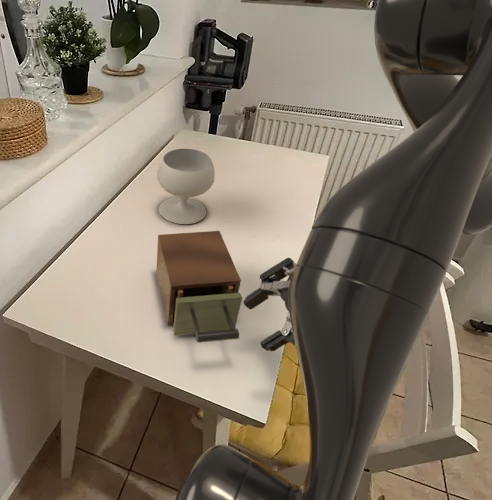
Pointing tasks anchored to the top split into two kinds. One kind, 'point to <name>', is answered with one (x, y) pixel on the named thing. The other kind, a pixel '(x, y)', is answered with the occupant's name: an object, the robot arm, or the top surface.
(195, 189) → the chalice
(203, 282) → the cabinet
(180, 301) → the drawer
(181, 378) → the top surface
